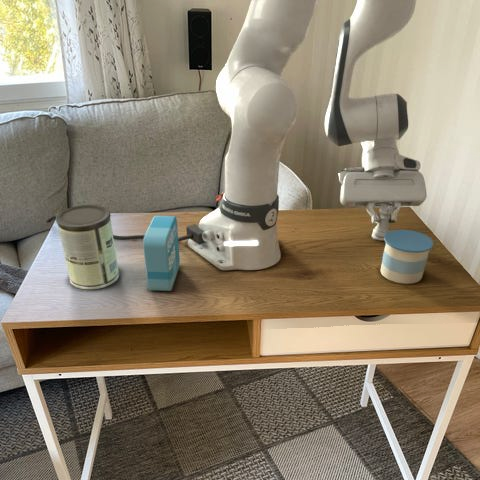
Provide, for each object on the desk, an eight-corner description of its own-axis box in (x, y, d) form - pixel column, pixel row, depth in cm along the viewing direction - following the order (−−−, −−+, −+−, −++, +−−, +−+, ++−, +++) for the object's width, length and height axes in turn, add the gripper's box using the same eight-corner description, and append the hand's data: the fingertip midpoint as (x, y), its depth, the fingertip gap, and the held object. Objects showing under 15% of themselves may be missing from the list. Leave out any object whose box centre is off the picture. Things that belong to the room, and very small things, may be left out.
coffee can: (71, 267, 109) (58, 205, 101) (119, 263, 110) (111, 203, 102) (66, 292, 101) (52, 227, 92) (118, 288, 102) (109, 224, 94)
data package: (170, 294, 101) (166, 240, 94) (148, 293, 101) (142, 239, 94) (180, 264, 110) (176, 213, 103) (159, 263, 110) (155, 213, 103)
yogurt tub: (369, 273, 108) (375, 240, 104) (392, 257, 114) (399, 225, 109) (411, 290, 103) (419, 255, 98) (432, 272, 109) (441, 239, 104)
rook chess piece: (368, 238, 122) (373, 207, 117) (375, 232, 125) (381, 201, 120) (385, 243, 120) (392, 212, 115) (392, 236, 123) (399, 206, 118)
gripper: (341, 161, 118) (344, 217, 116) (426, 161, 119) (431, 217, 116) (335, 173, 124) (338, 227, 122) (416, 173, 125) (420, 226, 123)
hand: (384, 222), depth 119 cm, fingers closed on rook chess piece, 3 cm apart
